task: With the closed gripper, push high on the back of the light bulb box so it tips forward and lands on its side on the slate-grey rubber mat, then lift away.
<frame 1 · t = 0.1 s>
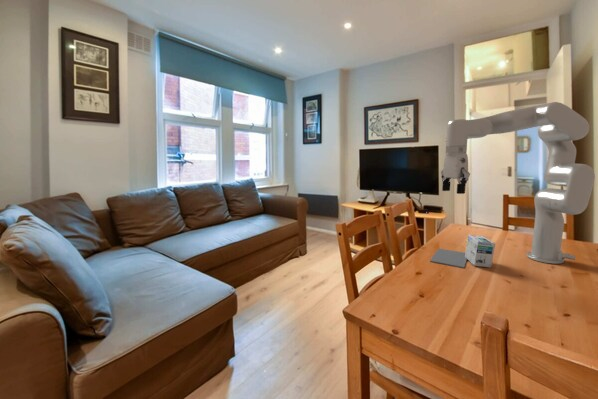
hand: (453, 192, 115), 31 cm above the table, tool pointing down, fingers open, 9 cm apart
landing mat: (449, 257, 125), on the table
light bulb box: (477, 262, 119), on the table, touching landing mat
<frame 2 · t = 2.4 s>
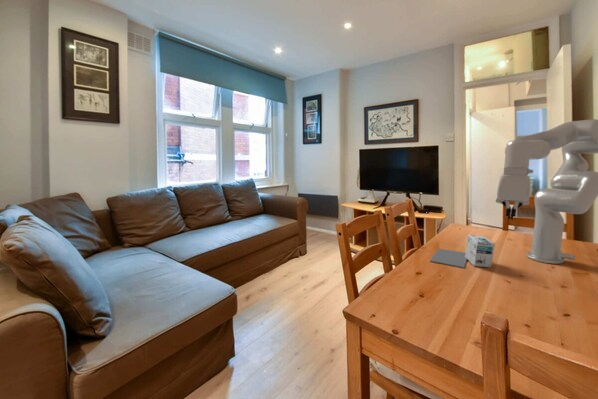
hand: (510, 218, 110), 21 cm above the table, tool pointing down, fingers closed
nothing on the table moved.
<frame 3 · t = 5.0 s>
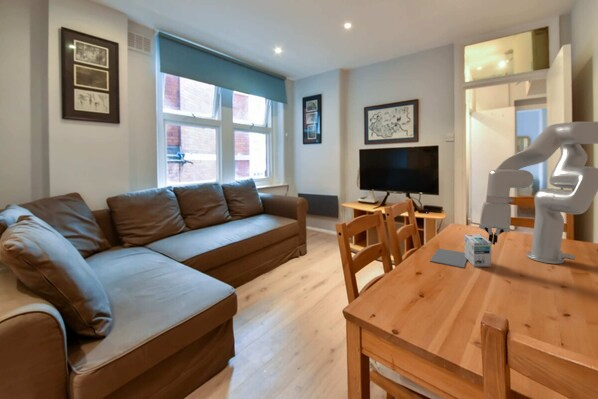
hand: (492, 243, 114), 10 cm above the table, tool pointing down, fingers closed
light bulb box: (477, 261, 119), on the table, touching gripper, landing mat
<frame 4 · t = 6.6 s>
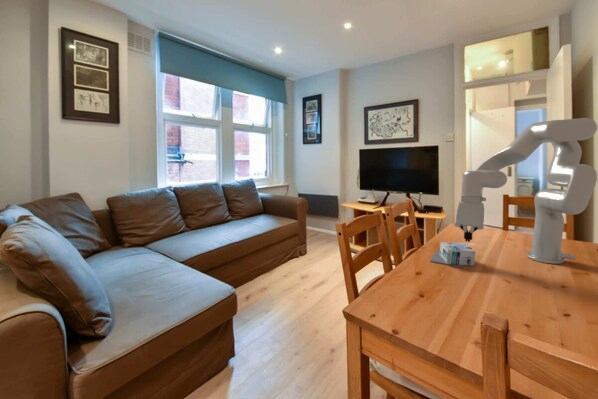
hand: (467, 240, 120), 9 cm above the table, tool pointing down, fingers closed
light bulb box: (470, 254, 119), point 4 cm above the table, touching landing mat
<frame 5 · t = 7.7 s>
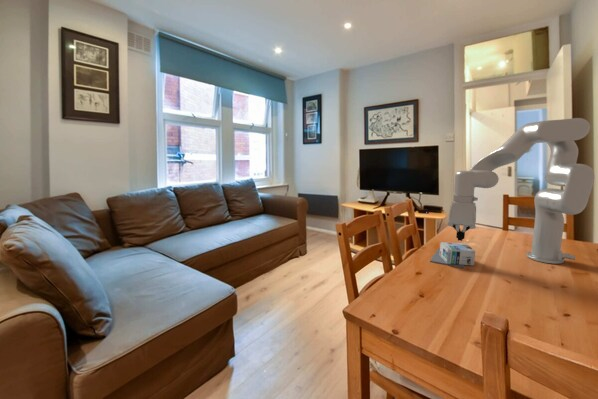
hand: (460, 239, 122), 9 cm above the table, tool pointing down, fingers closed
nothing on the table moved.
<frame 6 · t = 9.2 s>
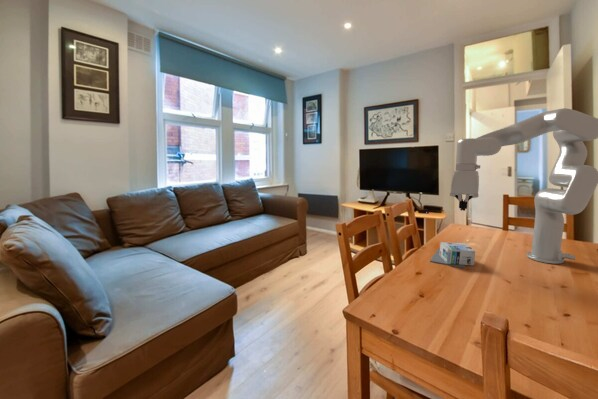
hand: (462, 210, 120), 23 cm above the table, tool pointing down, fingers closed
nothing on the table moved.
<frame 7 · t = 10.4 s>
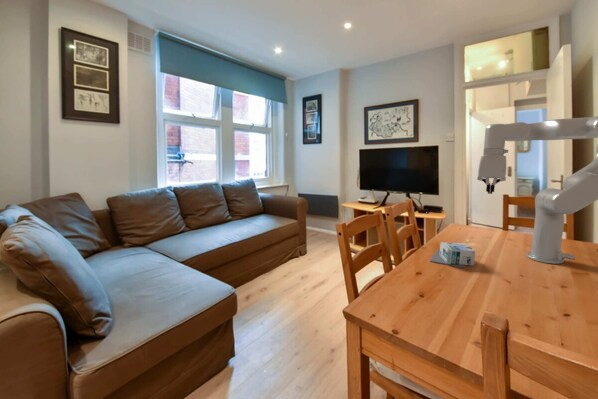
hand: (489, 193, 125), 29 cm above the table, tool pointing down, fingers closed
nothing on the table moved.
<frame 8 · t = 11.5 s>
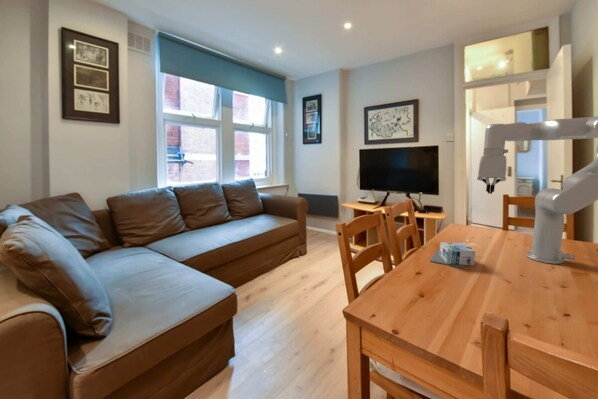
hand: (489, 193, 125), 29 cm above the table, tool pointing down, fingers closed
nothing on the table moved.
at the end: light bulb box tilted 89°; light bulb box touching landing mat; light bulb box inside the target area (2.1 cm from its centre), point 3.7 cm above the table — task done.
